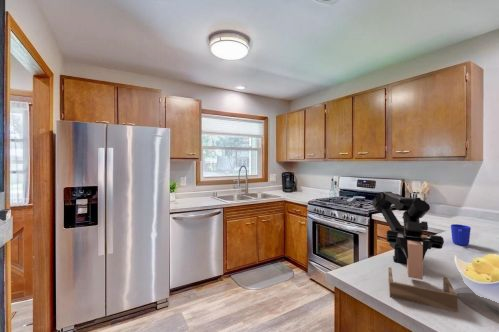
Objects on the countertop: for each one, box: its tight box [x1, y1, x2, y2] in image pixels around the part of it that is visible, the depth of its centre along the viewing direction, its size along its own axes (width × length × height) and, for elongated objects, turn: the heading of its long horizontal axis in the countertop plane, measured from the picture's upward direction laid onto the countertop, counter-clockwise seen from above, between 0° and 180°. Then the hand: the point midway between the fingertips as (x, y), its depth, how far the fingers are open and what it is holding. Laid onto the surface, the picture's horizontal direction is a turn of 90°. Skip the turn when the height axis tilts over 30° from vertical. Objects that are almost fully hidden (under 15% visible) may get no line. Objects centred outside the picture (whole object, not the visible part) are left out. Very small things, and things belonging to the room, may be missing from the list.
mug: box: [450, 223, 472, 247], centre depth 129 cm, size 8×12×10 cm
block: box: [406, 240, 424, 280], centre depth 92 cm, size 4×4×13 cm
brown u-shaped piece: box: [387, 266, 459, 313], centre depth 83 cm, size 13×18×5 cm
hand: (415, 259), depth 91 cm, fingers closed on block, 4 cm apart
